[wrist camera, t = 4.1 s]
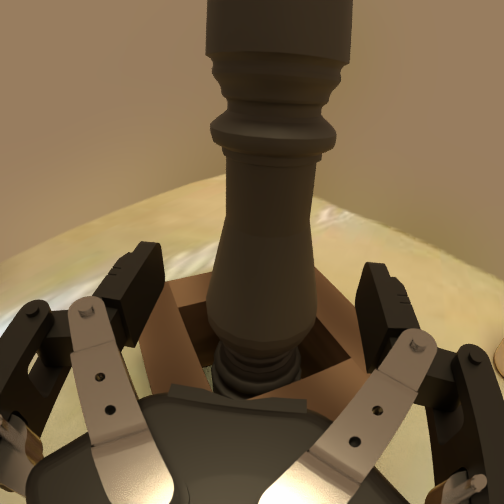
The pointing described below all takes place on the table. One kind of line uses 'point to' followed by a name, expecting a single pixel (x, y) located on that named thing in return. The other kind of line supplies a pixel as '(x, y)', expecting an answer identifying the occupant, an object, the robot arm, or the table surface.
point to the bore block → (205, 340)
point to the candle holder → (269, 180)
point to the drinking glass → (500, 357)
